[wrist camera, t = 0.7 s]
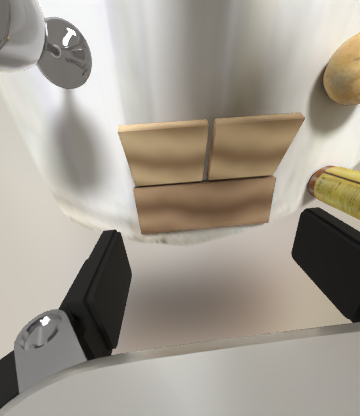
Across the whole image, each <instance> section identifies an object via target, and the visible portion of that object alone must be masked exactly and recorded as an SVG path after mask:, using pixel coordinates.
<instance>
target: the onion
mask: <svg viewBox="0 0 360 416" xmlns="http://www.w3.org/2000/svg"><path fill="white" fill-rule="evenodd" d="M323 79H324V80H323V81H324V82H323V83H324V89H325V90H326V92H327V95H329V97H330V98H331V99H332V100H334V101H335V102H337V103H339V104H343V105H356V104H360V33H358V34H356V35H355V36H353V37H351V38H350V39H348V40H347V41H346V42H345V43H343V44H342V45H341V46H340V47H339V48H338V49H337V51H336V52H335V53H334V54H333V56H332V57H331V59H330V61H329V63H328V65H327V68H326V70H325V73H324V77H323Z"/></svg>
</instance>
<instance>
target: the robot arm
mask: <svg viewBox="0 0 360 416" xmlns="http://www.w3.org/2000/svg"><path fill="white" fill-rule="evenodd" d="M292 257H293V259H294V260H295V261H296V263H297V264H298V265H299V266H300V267H301V268H302V269H303V271H305V273H306V274H307V275H308V276H309V277H310V278H311V280H313V282H314V283H315V284H316V285H317V286H318V287H319V289H320V290H321V291H322V292H323V293H324V294H325V295H326V296H327V297H328V298H329V300H330V301H331V302H332V303H333V304H334V305H335V306H336V308H337V309H338V310H339V311H340V312H341V313H342V314H343V315H344V316H345V317H346V318H347V319H350V320H351V321H352V322H353V323H349V324H341V325H334V326H324V327H316V328H309V329H300V330H292V331H285V332H276V333H268V334H260V335H253V336H244V337H237V338H229V339H222V340H214V341H206V342H199V343H191V344H183V345H175V346H168V347H162V348H154V349H148V350H141V351H134V352H128V353H122V354H116V355H111V353H112V349H114V348H116V347H117V344H118V339H119V335H120V329H121V325H122V320H123V316H124V311H125V306H126V301H127V297H128V292H129V287H130V282H131V277H132V273H131V268H130V265H129V261H128V257H127V254H126V250H125V247H124V243H123V239H122V236H121V233H120V232H117V231H116V230H107V231H103V233H102V234H101V236H100V238H99V240H98V242H97V244H96V245H95V247H94V249H93V251H92V253H91V255H90V257H89V258H88V259H87V260H86V261H85V262H84V264H83V266H82V268H81V269H80V271H79V273H78V275H77V277H76V278H75V280H74V282H73V284H72V286H71V287H70V289H69V291H68V293H67V295H66V297H65V298H64V300H63V302H62V304H61V306H60V307H59V309H55V310H50V311H46V312H44V313H42V314H40V315H38V316H37V317H35V318H34V319H32V320H31V321H30V322H29V323H28V324H27V325H26V326H25V327H24V328H23V329H22V330H21V332H20V333H19V334H18V336H17V338H16V340H15V343H14V350H13V351H12V352H10V353H9V354H8V355H6V356H5V357H3V358H2V359H1V360H0V416H360V232H359V231H358V230H356V229H354V228H353V227H351V226H349V225H348V224H346V223H344V222H343V221H341V220H339V219H338V218H336V217H334V216H332V215H331V214H329V213H327V212H326V211H324V210H322V209H321V208H307V209H305V210H304V211H303V212H302V213H301V215H300V219H299V223H298V228H297V231H296V236H295V240H294V244H293V248H292Z"/></svg>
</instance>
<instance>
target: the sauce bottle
mask: <svg viewBox="0 0 360 416" xmlns="http://www.w3.org/2000/svg"><path fill="white" fill-rule="evenodd" d="M308 189H309V192H310V194H311V195H312V196H314V197H316V198H317V199H318V200H320V201H322V202H324V203H326V204H328V205H330V206H332V207H334V208H337V209H339V210H341V211H343V212H345V213H347V214H349V215H351V216H353V217H355V218H357V219H359V220H360V172H359V171H355V170H351V169H347V168H343V167H335V166H327V167H324V168H322V169H320V170H318V171H317V172H315V173H314V175H313V176H312V177H311V179H310V181H309V185H308Z"/></svg>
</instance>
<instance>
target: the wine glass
mask: <svg viewBox="0 0 360 416" xmlns="http://www.w3.org/2000/svg"><path fill="white" fill-rule="evenodd" d="M36 64H37V66H38V68H39V69H40V71H41V72H42V73H43V75H44V76H45V77H46V78H47V79H48V80H50V81H51V82H52V83H54V84H56V85H58V86H60V87H63V88H76V87H78V86H81V85H82V84H83V83H84V82H85V81H86V80H87V78H88V77H89V74H90V71H91V66H92V59H91V53H90V50H89V46H88V44H87V42H86V40H85V38H84V37H83V35H82V34H81V33H80V31H79V30H78V29H77V28H76V27H75V26H74V25H72V24H71V23H70V22H68V21H66V20H64V19H61V18H58V17H49V18H44V15H43V12H42V9H41V7H40V5H39V2H38V0H0V72H6V73H11V72H19V71H25V70H27V69H29V68H31V67H34V66H35V65H36Z"/></svg>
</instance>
